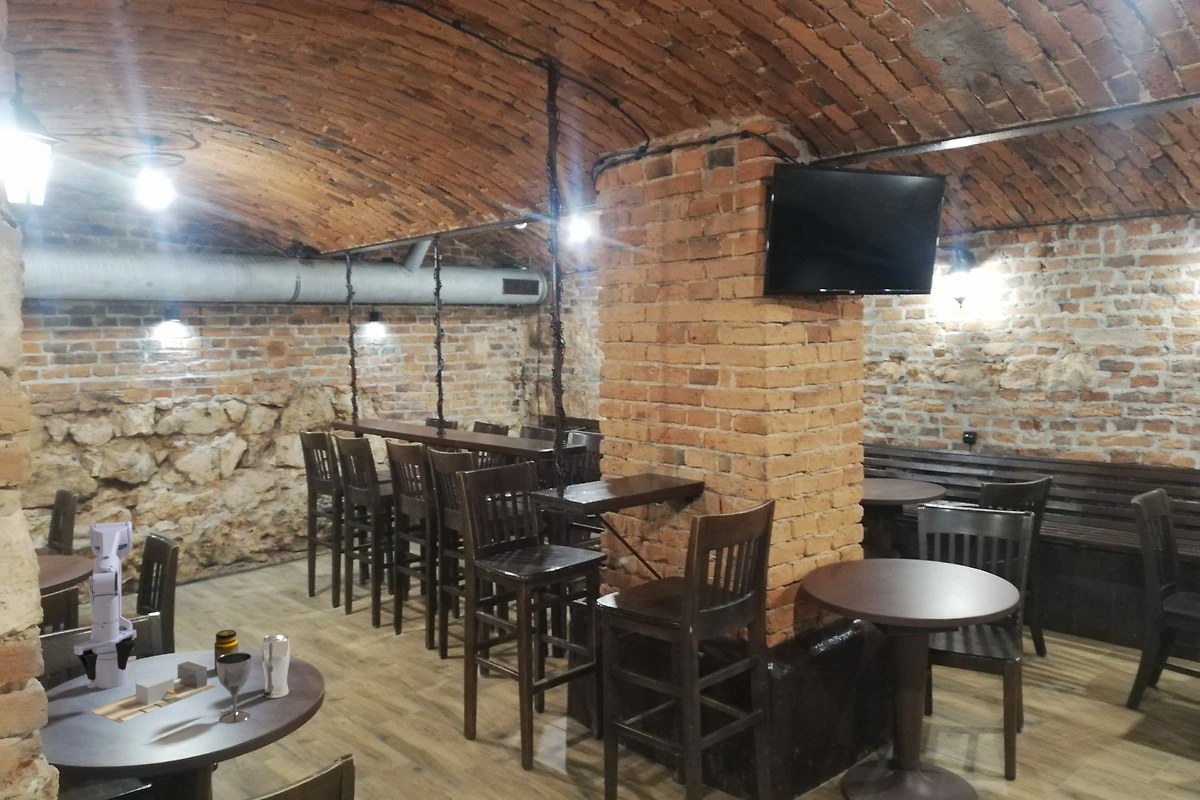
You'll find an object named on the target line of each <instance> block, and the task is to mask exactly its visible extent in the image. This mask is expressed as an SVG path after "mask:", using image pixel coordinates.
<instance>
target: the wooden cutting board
mask: <svg viewBox="0 0 1200 800" xmlns="http://www.w3.org/2000/svg"><path fill="white" fill-rule="evenodd" d="M216 687H217V685H213V684H210V683H208V682H207V686H205V687H202V688H198V689H194V688H191V687H188V686H185V685H182V684H176V685H174V692H175V694H174V696H171V697H168V698H166V699H163V700H160V701H158V702H155V703H152V704H150V705H146V704H144V703H141V702H138V701H136V693H135V694H131V695H130V696H127V697H124V698H120V699H118V700H115V701H113V702H110V703H108V704H105V705H102V706H100V707H96V708H94V709H91V710H89V712H91V713H95V714H96V715H99V716H102V717H104V718H106V719H110V720H112V721H114V722H117V723H119V724H123V723H124V722H127V721H130V720H132V719H135V718H137V717H140V716H144V715H146V714H148V713H151V712H153V711H156V710H158V709H159V710H160V709H161V708H163V707H164V708H165V707H166V706H169V705H172V704H174V703H176V702H180V701H183V700H186V699H188V698H191V697H192V696H195V695H197V694H200V693H202V692H205V691H208V690H211V689H213V688H216Z"/></svg>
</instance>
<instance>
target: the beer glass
mask: <svg viewBox="0 0 1200 800" xmlns="http://www.w3.org/2000/svg"><path fill="white" fill-rule="evenodd" d="M261 643H262V645H261V662H262V669H263V673H264V674H263V675H264V678H265V688H264V692H263V695H264V697H265V698H268V699H278V698H283V697H285V696H287V695H288V694H289V693H290V690H289V687H288V671H289V666H290V660H291V645H290V636H289V635H288V634H285V633H283V634H282V633H276V634H275V633H274V634H270V635H266V636H264V637H263V638H262V642H261Z"/></svg>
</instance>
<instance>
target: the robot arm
mask: <svg viewBox="0 0 1200 800" xmlns="http://www.w3.org/2000/svg"><path fill="white" fill-rule="evenodd" d="M89 543H90V546H91V547H90V548H91V552H93V553H92V554H93V556H96V557H95V558H94V562H93V570H92V576H89V578H88V594H89V599H90V606H91V622H92V623H91V625H92V627H91V628H90V638H89V639H88V640H86V641H84V642H82V643H79V644H77V645H74V646H73V651H74V655H76V656H77V658H78V659H79V661H80V662H81V663H82V666H83V668H84V670H85V673H86V676H87V679H88V680H89V682H90V683H89V685H87V686H86V687H87V689H93V688H96V687H98V688H99V689H104V690H105V689H109V690H110V689H114V688H119V687H122V686H125V685H126V684H128V683H129V657H130V656H131V655H130V654H131V652H132V651H133V649H134V648H135V645H136V640H135V638H137V630H136V629H133V623H132V622H131V620H129V619H128V618H125V617H123V616H122V564H123V562H124V561H123V560H124V557H125V555H128V554H129V553H131V552H132V549H133V522H131V521H130V520H127V521H117V522H102V523H100V522H99V523H96V522H95V523H92V524H91V525H89Z"/></svg>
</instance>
